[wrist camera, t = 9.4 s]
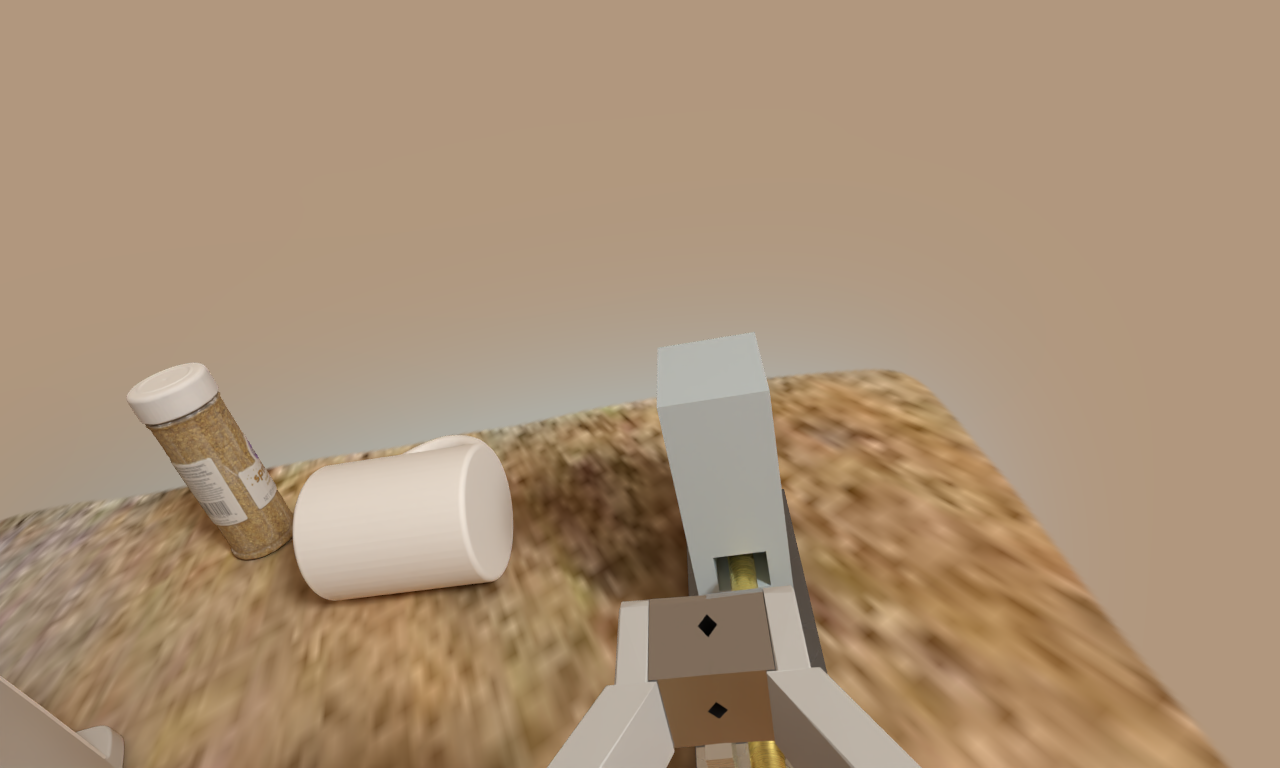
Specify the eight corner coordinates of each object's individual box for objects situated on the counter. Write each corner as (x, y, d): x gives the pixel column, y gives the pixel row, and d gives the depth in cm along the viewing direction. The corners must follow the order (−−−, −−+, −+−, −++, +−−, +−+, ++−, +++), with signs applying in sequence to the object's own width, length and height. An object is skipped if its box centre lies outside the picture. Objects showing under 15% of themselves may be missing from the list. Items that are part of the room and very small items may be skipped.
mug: (497, 611, 39) (450, 504, 35) (333, 630, 40) (269, 529, 36) (532, 476, 49) (499, 382, 45) (401, 495, 50) (357, 404, 46)
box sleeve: (702, 614, 33) (656, 407, 27) (698, 540, 37) (657, 347, 31) (795, 603, 32) (769, 390, 26) (779, 529, 37) (754, 332, 31)
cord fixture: (702, 849, 26) (659, 704, 22) (687, 510, 42) (660, 388, 38) (863, 838, 25) (853, 685, 21) (784, 497, 42) (769, 371, 37)
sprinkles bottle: (312, 526, 49) (217, 364, 42) (254, 571, 46) (141, 404, 39) (279, 510, 51) (184, 355, 45) (221, 552, 48) (110, 392, 42)
